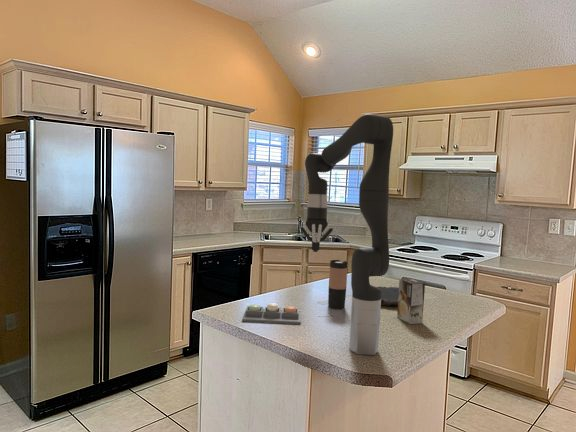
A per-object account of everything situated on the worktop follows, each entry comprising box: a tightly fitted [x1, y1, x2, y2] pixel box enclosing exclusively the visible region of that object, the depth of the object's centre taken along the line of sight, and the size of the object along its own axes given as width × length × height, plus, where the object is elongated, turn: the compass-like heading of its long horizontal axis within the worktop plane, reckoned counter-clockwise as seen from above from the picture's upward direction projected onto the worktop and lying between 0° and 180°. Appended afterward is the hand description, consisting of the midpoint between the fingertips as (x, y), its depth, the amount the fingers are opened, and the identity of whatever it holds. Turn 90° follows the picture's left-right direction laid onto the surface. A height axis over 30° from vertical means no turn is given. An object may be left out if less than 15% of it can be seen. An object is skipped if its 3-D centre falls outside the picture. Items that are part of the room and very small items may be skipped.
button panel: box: [241, 305, 302, 325], centre depth 168 cm, size 14×22×3 cm, turn 89°
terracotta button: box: [284, 305, 297, 313], centre depth 168 cm, size 4×4×2 cm
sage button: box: [249, 304, 261, 311], centre depth 168 cm, size 4×4×2 cm
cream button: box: [266, 302, 279, 312], centre depth 168 cm, size 4×4×2 cm
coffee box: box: [396, 278, 426, 325], centre depth 172 cm, size 9×6×16 cm
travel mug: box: [327, 259, 349, 310], centre depth 186 cm, size 8×8×20 cm
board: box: [376, 286, 399, 307], centre depth 200 cm, size 22×22×5 cm
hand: (315, 251), depth 164 cm, fingers closed
